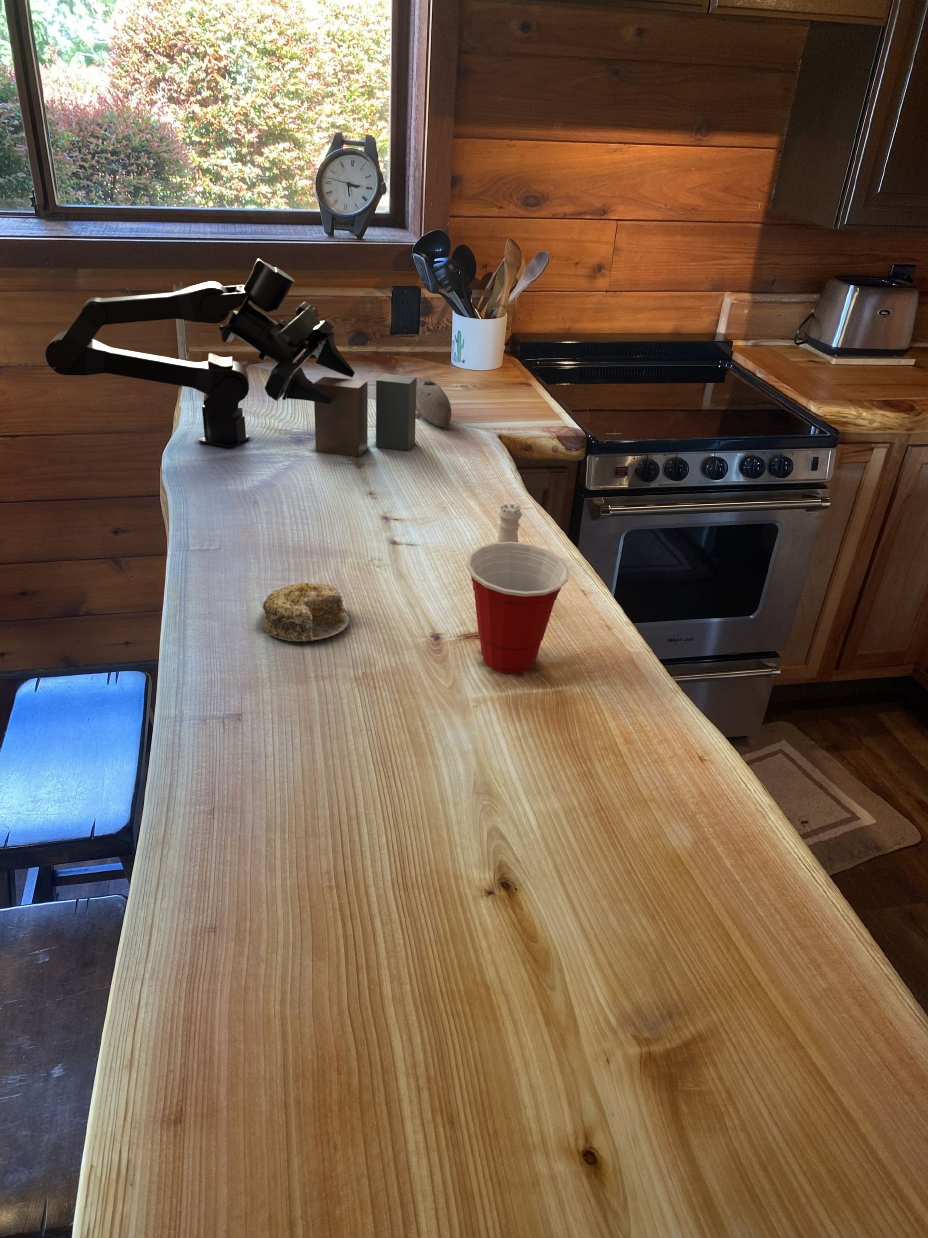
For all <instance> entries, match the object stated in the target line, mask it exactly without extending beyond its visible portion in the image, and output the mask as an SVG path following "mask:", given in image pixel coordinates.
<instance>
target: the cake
mask: <svg viewBox="0 0 928 1238" xmlns="http://www.w3.org/2000/svg"><path fill="white" fill-rule="evenodd" d="M262 609H263V611H264V615H265V616H264V618H263V620H262V623H261V625H262V626H261V627H262V628H263V631H265V633H267V634H268V635H269V636H271V637H274V638H276V639H280V640H284V641H288V642H312V641H319V640H323V639H327V638H330V637H333V636H335V635H337V634H339V633H340V632H343V631H344V630H345V629H346V628H347V627H348V625H349V624H350V623H349V622H350V619H349V616H348V614H347V613H346V612H345V610H346V608H344V599H343V596H342V595H341V593H340V591H339V590H338V589H337V588H336V587H335V586H332V585H331V584H328V583H325V584H322V583H320V582H316V583H313V582H299V583H292V584H288V585H285V586H284V587H279V588H278V589H274V590H273V591H272V592H271V593H270V594H269V595H267V597H266V598H265V600H264V601H263V603H262Z"/></svg>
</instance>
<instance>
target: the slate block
mask: <svg viewBox="0 0 928 1238" xmlns="http://www.w3.org/2000/svg"><path fill="white" fill-rule="evenodd" d="M417 380H418V378H417V376H409V375H399V374H390V373H383V374H382V375H381V376H379V378H377V379H376V380H375V448H382V449H389V450H400V451H407V452H408V451H409V450H410V449H411V448H412V447H413V446H414V444H415V443H416V422H417V421H416V418H417V417H416V415H417V410H416V385H417Z"/></svg>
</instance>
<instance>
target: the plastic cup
mask: <svg viewBox="0 0 928 1238" xmlns="http://www.w3.org/2000/svg"><path fill="white" fill-rule="evenodd" d="M466 568H467V571H468V572H469V574H470V578H471V579H470V580H471V582H472V590H473V595H474V602H475V613H476V621H477V623H476V624H477V630H478V635H479V642H480V652H481V656H482V660H483V662H484V664H485V666H487V667H488V668H490V669H491V670H493V671H496V672H500V673H504V674H518V673H523V672H526V671H529V670H530V669H531V668H532V667H533V666H534V664H535V662H536V661H537V658H538V654H539V651H540V647H541V644H542V641H543V640H544V637H545V633H546V631H547V628H548V624H549V621H550V618H551V614H552V612H553V611H552V610H553V608H554V605H555V602H556V600H557V598H558V595H559V593H560V592H561V589H562V587H564V585H566V583H568V581H569V579H570V568H569V566H568V565H567V563H566V562H565V561H564V559H563V558H562V557H561V556H559V555H558V554H555V553H554V552H553V551H551V550H549V549H546V548H543V547H540V546H537V545H535V544H531V543H525V542H519V541H518V542H497V541H496V542H492V543H488V544H484V545H482V546H478V547H477V548H476V549H474V550H472V551H471V552H470V553H469V554H468V556H467V561H466Z"/></svg>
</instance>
